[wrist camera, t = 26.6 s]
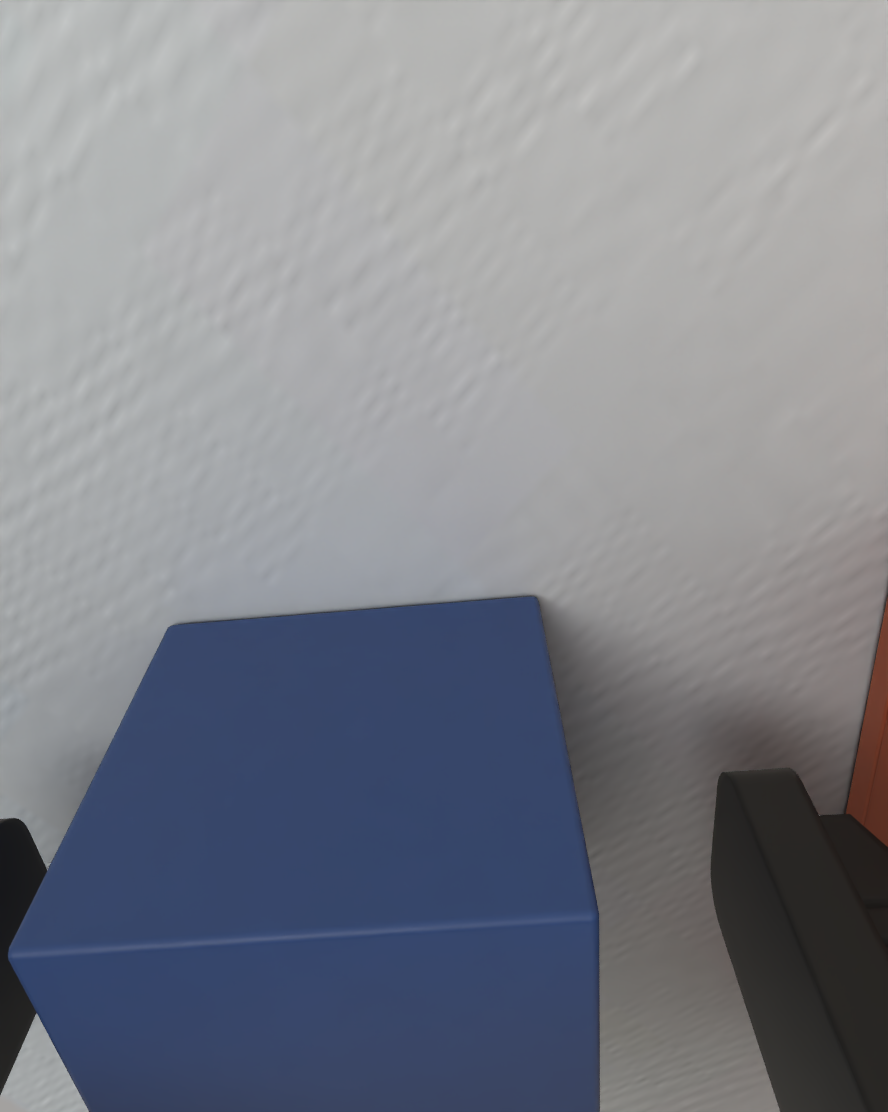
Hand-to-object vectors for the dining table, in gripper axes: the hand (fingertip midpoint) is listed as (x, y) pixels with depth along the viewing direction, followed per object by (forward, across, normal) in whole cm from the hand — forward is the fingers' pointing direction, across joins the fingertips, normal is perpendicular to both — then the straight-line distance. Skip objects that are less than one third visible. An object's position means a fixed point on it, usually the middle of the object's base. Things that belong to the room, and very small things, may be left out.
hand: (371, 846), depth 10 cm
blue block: (+2, 0, 0) cm, 2 cm away
